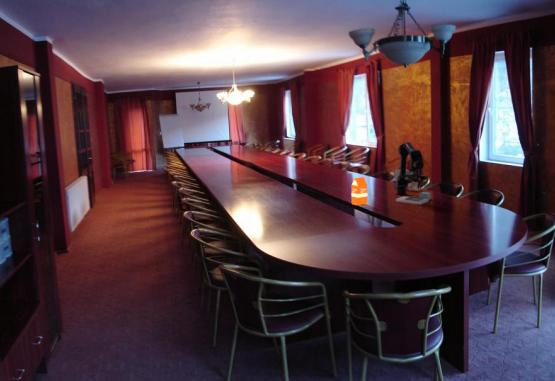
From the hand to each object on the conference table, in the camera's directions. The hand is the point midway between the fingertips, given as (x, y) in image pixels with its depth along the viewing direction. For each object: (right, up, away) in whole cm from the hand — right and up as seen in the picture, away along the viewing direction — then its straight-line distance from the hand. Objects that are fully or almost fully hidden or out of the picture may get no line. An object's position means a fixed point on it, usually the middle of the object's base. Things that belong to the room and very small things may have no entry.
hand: (414, 188), depth 354 cm
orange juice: (-40, -12, +2) cm, 42 cm away
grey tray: (-1, -10, +3) cm, 10 cm away
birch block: (0, -1, 0) cm, 1 cm away
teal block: (+11, -8, +10) cm, 17 cm away
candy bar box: (+5, 0, +56) cm, 56 cm away
